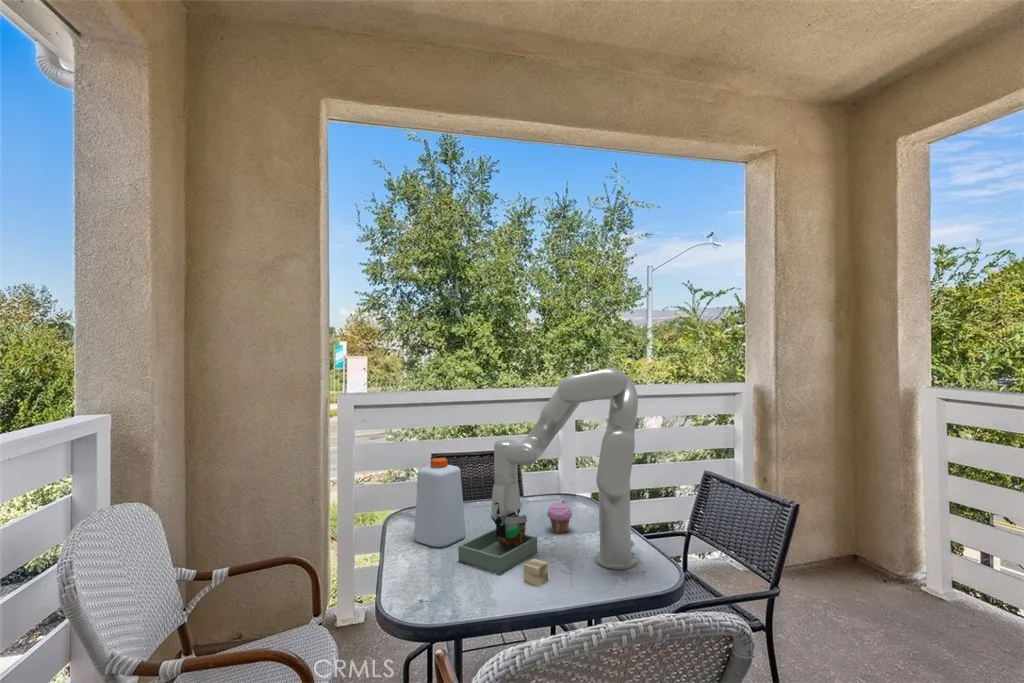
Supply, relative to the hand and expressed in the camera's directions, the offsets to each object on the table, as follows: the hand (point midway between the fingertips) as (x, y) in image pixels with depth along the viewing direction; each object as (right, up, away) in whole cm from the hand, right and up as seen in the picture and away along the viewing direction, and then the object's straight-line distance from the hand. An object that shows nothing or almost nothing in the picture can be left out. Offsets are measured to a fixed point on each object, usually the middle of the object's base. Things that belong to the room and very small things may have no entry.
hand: (507, 533), depth 165 cm
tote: (-3, -6, -4) cm, 8 cm away
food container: (0, -4, 0) cm, 4 cm away
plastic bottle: (-24, -7, +13) cm, 28 cm away
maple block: (+8, -6, -21) cm, 23 cm away
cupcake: (+19, -7, +19) cm, 27 cm away
